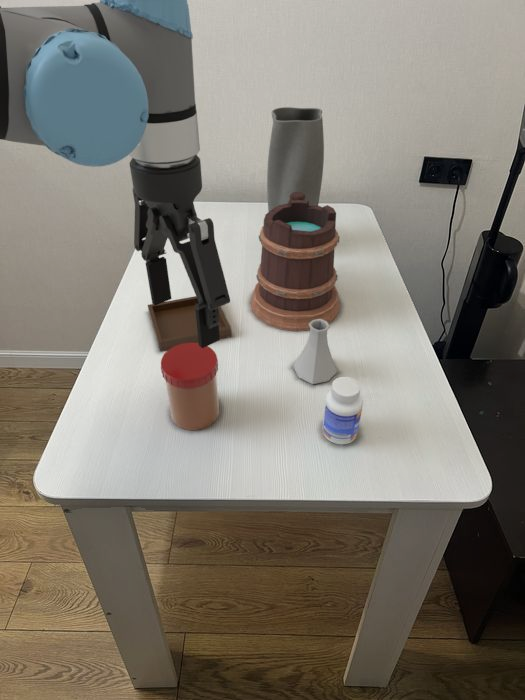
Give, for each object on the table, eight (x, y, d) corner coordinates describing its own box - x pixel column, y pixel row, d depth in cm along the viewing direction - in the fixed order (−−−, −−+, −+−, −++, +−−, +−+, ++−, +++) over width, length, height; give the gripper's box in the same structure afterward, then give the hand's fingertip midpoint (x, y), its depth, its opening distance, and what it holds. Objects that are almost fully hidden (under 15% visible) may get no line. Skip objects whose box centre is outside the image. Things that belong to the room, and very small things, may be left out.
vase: (318, 235, 124) (329, 107, 105) (314, 258, 115) (326, 123, 96) (270, 231, 126) (272, 104, 107) (263, 254, 117) (264, 120, 97)
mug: (333, 270, 111) (343, 184, 98) (344, 332, 94) (358, 236, 81) (252, 269, 111) (251, 182, 99) (248, 330, 94) (246, 235, 81)
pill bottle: (359, 445, 73) (369, 400, 67) (323, 445, 73) (329, 399, 67) (354, 418, 77) (363, 373, 71) (320, 418, 77) (325, 372, 71)
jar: (176, 435, 74) (168, 386, 67) (167, 401, 80) (158, 352, 73) (224, 423, 76) (221, 374, 69) (212, 390, 82) (208, 341, 75)
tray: (159, 351, 89) (158, 342, 88) (148, 312, 98) (147, 304, 97) (231, 336, 93) (231, 328, 91) (214, 300, 102) (214, 292, 100)
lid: (167, 394, 68) (166, 385, 67) (157, 357, 74) (156, 348, 73) (224, 381, 70) (224, 372, 69) (210, 346, 76) (209, 337, 75)
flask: (317, 351, 89) (322, 306, 83) (344, 374, 85) (351, 328, 78) (285, 366, 86) (288, 320, 80) (311, 390, 82) (316, 344, 75)
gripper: (85, 135, 57) (119, 292, 71) (195, 201, 43) (210, 380, 57) (142, 124, 61) (164, 275, 75) (261, 181, 47) (260, 354, 61)
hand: (184, 320), depth 66 cm, fingers open, 11 cm apart
